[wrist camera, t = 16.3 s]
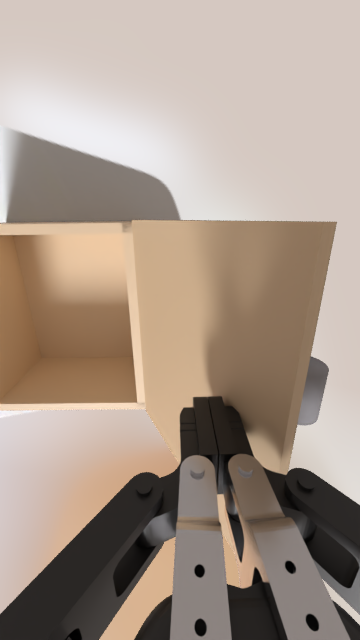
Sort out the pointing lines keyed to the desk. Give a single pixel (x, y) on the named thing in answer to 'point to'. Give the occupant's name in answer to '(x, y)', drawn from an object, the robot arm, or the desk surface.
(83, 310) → the carton
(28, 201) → the desk surface
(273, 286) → the carton lid
